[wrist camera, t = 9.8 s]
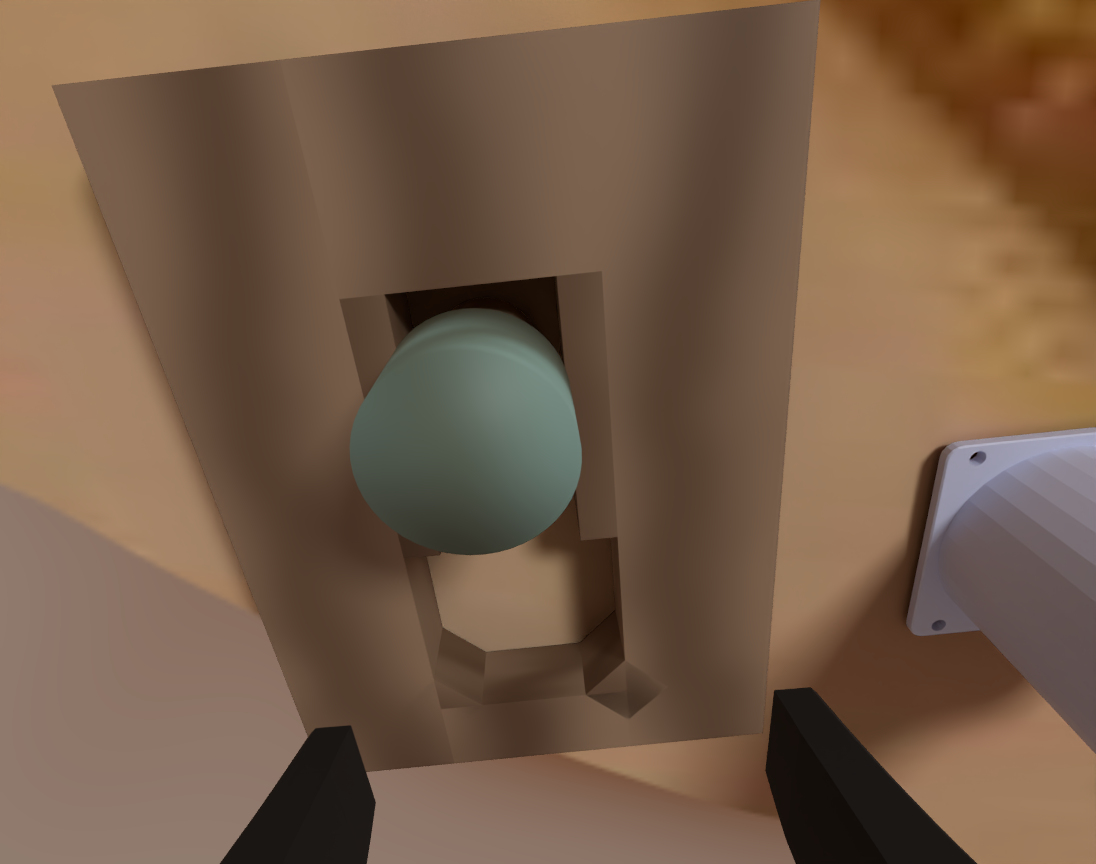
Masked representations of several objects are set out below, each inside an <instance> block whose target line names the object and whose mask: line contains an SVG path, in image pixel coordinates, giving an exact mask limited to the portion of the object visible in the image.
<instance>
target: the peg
mask: <svg viewBox="0 0 1096 864" xmlns="http://www.w3.org/2000/svg"><path fill="white" fill-rule="evenodd" d="M350 462H351V466H352V471H353V475H354V478H355V481H356V483H357V486H358V488H359V490H360V492H361V494H362V496H363V498H364V499H365V501H366V502H367V504H368V505H369V506H370V508H371V509H372V510H373V512H374V513H375V514H376V515H377V516H378V517H379V518H380V519H381V520H382V521H383V522H384V523H385V524H386V525H388V526H389V527H390V528H391V529H392V530H394V531H395V532H397V533H398V534H400V535H401V536H403V537H405V538H407V539H408V540H410V541H412V542H414V543H416V544H419V545H421V546H424V547H427V548H429V549H433V550H437V551H440V552H445V553H451V554H460V555H481V554H489V553H495V552H500V551H504V550H507V549H511V548H513V547H516V546H518V545H521V544H523V543H525V542H527V541H529V540H531V539H533V538H534V537H536V536H538V535H539V534H540V533H542V532H543V531H545V530H546V529H547V528H548V527H549V526H550V525H551V524H553V523H554V522H555V521H556V520H557V519H558V517H559V516H560V515H561V514H562V513H563V511H564V510H565V509H566V507H567V505H568V504H569V502H570V500H571V499H572V497H573V494H574V492H575V490H576V488H577V484H578V481H579V477H580V472H581V464H582V448H581V442H580V436H579V431H578V425H577V420H576V414H575V409H574V404H573V398H572V393H571V387H570V382H569V378H568V374H567V371H566V368H565V366H564V364H563V362H562V360H561V357H560V356H559V354H558V353H557V351H556V350H555V348H554V347H553V346H552V344H551V343H550V342H549V341H548V340H547V339H546V338H545V337H544V336H543V335H542V334H541V333H540V332H539V331H538V330H536V329H535V328H534V327H533V325H532V324H531V322H530V321H529V319H528V318H527V317H526V315H525V314H524V313H523V312H522V311H520V310H519V309H518V308H517V307H515V306H514V305H512V304H510V303H508V302H506V301H503V300H500V299H496V298H487V297H485V298H476V299H471V300H468V301H465V302H463V303H461V304H459V305H458V306H456V307H455V308H454V309H452V310H451V311H448V312H445V313H442V314H439V315H436V316H434V317H432V318H430V319H428V320H426V321H424V322H423V323H421V324H420V325H418V326H417V327H415V328H414V329H413V330H412V331H411V332H410V333H408V334H407V335H406V336H405V338H404V339H403V340H402V341H401V342H400V343H399V345H398V346H397V348H396V349H395V351H394V353H393V354H392V356H391V358H390V359H389V361H388V362H387V364H386V366H385V367H384V369H383V370H382V372H381V374H380V375H379V377H378V379H377V380H376V382H375V383H374V385H373V387H372V388H371V390H370V391H369V393H368V395H367V396H366V398H365V400H364V401H363V403H362V404H361V406H360V408H359V410H358V413H357V415H356V417H355V420H354V423H353V427H352V431H351V437H350Z"/></svg>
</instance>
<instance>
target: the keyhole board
mask: <svg viewBox="0 0 1096 864" xmlns="http://www.w3.org/2000/svg"><path fill="white" fill-rule="evenodd" d="M819 10H820V0H813V1H804V2H795V3H786V4H777V5H768V6H759V7H750V8H741V9H732V10H723V11H714V12H705V13H696V14H687V15H678V16H669V17H660V18H652V19H643V20H634V21H625V22H616V23H607V24H598V25H589V26H580V27H571V28H562V29H553V30H544V31H535V32H526V33H517V34H508V35H499V36H490V37H481V38H472V39H464V40H455V41H446V42H437V43H428V44H419V45H410V46H401V47H392V48H383V49H374V50H365V51H356V52H347V53H338V54H329V55H320V56H311V57H302V58H293V59H285V60H276V61H267V62H258V63H249V64H240V65H231V66H222V67H213V68H204V69H195V70H186V71H177V72H168V73H159V74H150V75H141V76H132V77H123V78H114V79H105V80H97V81H88V82H79V83H70V84H61V85H52V88H53V90H54V93H55V95H56V98H57V100H58V103H59V106H60V108H61V111H62V113H63V116H64V118H65V121H66V123H67V126H68V128H69V131H70V133H71V136H72V139H73V141H74V144H75V146H76V149H77V151H78V154H79V156H80V159H81V161H82V164H83V167H84V169H85V172H86V174H87V177H88V179H89V182H90V184H91V187H92V189H93V192H94V194H95V197H96V200H97V202H98V205H99V207H100V210H101V212H102V215H103V217H104V220H105V222H106V225H107V227H108V230H109V233H110V235H111V238H112V240H113V243H114V245H115V248H116V250H117V253H118V255H119V258H120V260H121V263H122V266H123V268H124V271H125V273H126V276H127V278H128V281H129V283H130V286H131V288H132V291H133V293H134V296H135V299H136V301H137V304H138V306H139V309H140V311H141V314H142V316H143V319H144V321H145V324H146V326H147V329H148V332H149V334H150V337H151V339H152V342H153V344H154V347H155V349H156V352H157V354H158V357H159V359H160V362H161V365H162V367H163V370H164V372H165V375H166V377H167V380H168V382H169V385H170V387H171V390H172V392H173V395H174V398H175V400H176V403H177V405H178V408H179V410H180V413H181V415H182V418H183V420H184V423H185V425H186V428H187V431H188V433H189V436H190V438H191V441H192V443H193V446H194V448H195V451H196V453H197V456H198V458H199V461H200V464H201V466H202V469H203V471H204V474H205V476H206V479H207V481H208V484H209V486H210V489H211V491H212V494H213V497H214V499H215V502H216V504H217V507H218V509H219V512H220V514H221V517H222V519H223V522H224V525H225V527H226V530H227V532H228V535H229V537H230V540H231V542H232V545H233V547H234V550H235V552H236V555H237V558H238V560H239V563H240V565H241V568H242V570H243V573H244V575H245V578H246V580H247V583H248V585H249V588H250V591H251V593H252V596H253V598H254V601H255V603H256V606H257V608H258V611H259V613H260V616H261V618H262V621H263V623H264V626H265V629H266V631H267V634H268V636H269V639H270V641H271V644H272V646H273V649H274V651H275V654H276V657H277V659H278V662H279V664H280V667H281V669H282V672H283V674H284V677H285V679H286V682H287V684H288V687H289V689H290V692H291V694H292V697H293V700H294V702H295V705H296V707H297V710H298V712H299V715H300V717H301V720H302V723H303V725H304V728H305V730H306V733H307V735H308V737H309V735H310V734H311V732H312V731H313V730H314V729H315V728H323V727H335V726H347V725H351V727H352V730H353V733H354V736H355V739H356V742H357V745H358V749H359V752H360V755H361V758H362V761H363V764H364V767H365V770H366V772H370V771H380V770H391V769H401V768H411V767H421V766H431V765H442V764H452V763H462V762H472V761H483V760H493V759H503V758H513V757H524V756H534V755H544V754H554V753H565V752H575V751H585V750H595V749H606V748H616V747H626V746H636V745H647V744H657V743H667V742H677V741H687V740H698V739H708V738H718V737H728V736H739V735H749V734H759V733H763V722H764V710H765V697H766V684H767V671H768V659H769V646H770V633H771V621H772V608H773V595H774V582H775V570H776V557H777V544H778V531H779V519H780V506H781V493H782V481H783V468H784V455H785V442H786V430H787V417H788V404H789V392H790V379H791V366H792V353H793V341H794V328H795V315H796V302H797V290H798V277H799V264H800V252H801V239H802V226H803V213H804V201H805V188H806V175H807V162H808V150H809V137H810V124H811V112H812V99H813V86H814V73H815V61H816V48H817V35H818V22H819ZM551 276H554V280H555V291H556V302H557V312H558V323H559V334H560V344H561V355H562V362H563V364H564V366H565V368H566V371H567V374H568V378H569V382H570V387H571V393H572V398H573V404H574V409H575V414H576V420H577V425H578V431H579V436H580V442H581V448H582V464H581V472H580V477H579V481H578V484H577V488H576V490H575V492H574V495H575V503H576V510H577V517H578V524H579V531H580V539H581V541H582V540H592V539H602V538H611V551H612V567H613V582H614V597H615V611H614V612H613V613H612V614H611V615H610V616H609V617H608V618H606V619H605V620H604V621H603V622H602V623H601V624H600V625H599V626H598V627H597V628H596V629H594V630H593V631H592V632H591V633H590V634H589V635H588V636H587V637H586V638H585V639H584V640H583V641H581V642H580V643H574V644H564V645H554V646H544V647H534V648H524V649H514V650H504V651H494V652H485V651H483V650H481V649H479V648H478V647H476V646H474V645H472V644H471V643H469V642H467V641H465V640H464V639H462V638H460V637H458V636H456V635H455V634H453V633H451V632H449V631H448V630H446V629H444V628H442V623H441V619H440V614H439V610H438V606H437V601H436V597H435V593H434V588H433V584H432V579H431V575H430V571H429V566H428V562H427V557H426V556H435V555H440V554H441V552H440V551H437V550H433V549H429V548H427V547H424V546H421V545H419V544H416V543H414V542H412V541H410V540H408V539H407V538H405V537H403V536H401V535H400V534H398V533H397V532H395V531H394V530H392V529H391V528H390V527H389V526H388V525H386V524H385V523H384V522H383V521H382V520H381V519H380V518H379V517H378V516H377V515H376V514H375V513H374V512H373V510H372V509H371V508H370V506H369V505H368V504H367V502H366V501H365V499H364V498H363V496H362V494H361V492H360V490H359V488H358V486H357V483H356V481H355V478H354V475H353V471H352V466H351V462H350V437H351V431H352V427H353V423H354V420H355V417H356V415H357V413H358V410H359V408H360V406H361V404H362V403H363V401H364V400H365V398H366V396H367V395H368V393H369V391H370V390H371V388H372V387H373V385H374V383H375V382H376V380H377V379H378V377H379V375H380V374H381V372H382V370H383V369H384V367H385V366H386V364H387V362H388V361H389V359H390V358H391V356H392V354H393V353H394V351H395V349H396V348H397V346H398V345H399V343H400V342H401V341H402V340H403V339H404V338H405V336H406V335H407V334H408V333H410V332H411V331H412V330H413V326H412V321H411V316H410V311H409V306H408V301H407V296H406V292H411V291H420V290H430V289H439V288H448V287H458V286H467V285H476V284H486V283H495V282H505V281H514V280H523V279H533V278H542V277H551Z"/></svg>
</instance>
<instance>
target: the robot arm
mask: <svg viewBox="0 0 1096 864" xmlns="http://www.w3.org/2000/svg"><path fill="white" fill-rule="evenodd" d="M975 452H978V453H977V455H976V456H975V457H974V458H973V459H970V458H971V456H972V455H973V454H974V453H975ZM969 459H970V460H969ZM935 621H936V622H935ZM906 625H907V627H908V628H909V629H910V630H911V632H912V633H913V634H914V635H917V636H928V635H938V634H948V633H958V632H968V631H978V630H981V631H982V633H983V634H984V635H985V636H986V637H987V638H988V639H989V640H990V641H991V642H992V643H993V644H994V645H995V647H996V648H997V649H998V650H999V651H1000V652H1001V653H1002V654H1003V655H1004V656H1005V657H1006V658H1007V659H1008V660H1009V662H1010V663H1011V664H1012V665H1013V666H1014V667H1015V668H1016V669H1017V670H1018V671H1019V672H1020V673H1021V674H1022V675H1023V677H1024V678H1025V679H1026V680H1027V681H1028V682H1029V683H1030V684H1031V685H1032V686H1033V687H1034V688H1035V689H1036V690H1037V692H1038V693H1039V694H1040V695H1041V696H1042V697H1043V698H1044V699H1045V700H1046V701H1047V702H1048V703H1049V704H1050V705H1051V707H1052V708H1053V709H1054V710H1055V711H1056V712H1057V713H1058V714H1059V715H1060V716H1061V717H1062V718H1063V719H1064V721H1065V722H1066V723H1067V724H1068V725H1069V726H1070V727H1071V728H1072V729H1073V730H1074V731H1075V732H1076V733H1077V734H1078V736H1079V737H1080V738H1081V739H1082V740H1083V741H1084V742H1085V743H1086V744H1087V745H1088V746H1089V747H1090V748H1091V749H1092V751H1093V752H1094V753H1095V754H1096V427H1093V428H1084V429H1074V430H1064V431H1054V432H1045V433H1035V434H1025V435H1016V436H1006V437H996V438H986V439H977V440H967V441H958V442H954V443H951V444H950V445H948V446H946V448H945V449H944V450H943V451H942V453H941V455H940V458H939V463H938V468H937V473H936V478H935V483H934V488H933V493H932V498H931V502H930V507H929V512H928V517H927V522H926V527H925V532H924V537H923V542H922V547H921V551H920V556H919V561H918V566H917V571H916V576H915V581H914V586H913V591H912V596H911V601H910V605H909V610H908V615H907V620H906ZM766 774H767V778H768V781H769V784H770V788H771V791H772V795H773V798H774V802H775V805H776V809H777V812H778V815H779V818H780V821H781V825H782V828H783V831H784V834H785V837H786V840H787V843H788V845H789V848H790V850H791V853H792V855H793V858H794V860H795V863H796V864H977V863H976V862H975V861H974V860H973V859H972V858H971V857H970V856H969V855H968V854H967V853H966V852H965V851H964V850H963V849H961V848H960V847H959V846H958V845H957V844H956V843H955V842H954V841H953V840H952V839H951V838H950V837H949V836H948V835H947V834H946V833H945V832H944V831H943V830H942V829H941V828H940V827H939V826H938V825H937V824H936V823H935V822H934V821H933V820H932V818H931V817H930V816H929V815H928V814H927V813H926V812H925V811H924V810H923V809H922V808H921V807H920V806H919V805H918V804H917V803H916V802H915V801H914V800H913V799H912V798H911V797H910V796H909V795H908V794H907V793H906V792H905V790H904V789H903V788H902V787H901V786H900V785H899V784H898V783H897V782H896V781H895V780H894V779H893V778H892V777H891V776H890V775H889V774H888V772H887V771H886V770H885V769H884V768H883V767H882V766H881V765H880V764H879V763H878V762H877V761H876V759H875V758H874V757H873V756H872V755H871V754H870V753H869V752H868V751H867V750H866V748H865V747H864V746H863V745H862V744H861V743H860V742H859V741H858V740H857V738H856V737H855V736H854V735H853V734H852V733H851V732H850V731H849V729H848V728H847V727H846V726H845V725H844V724H843V723H842V721H841V720H840V719H839V718H838V717H837V716H836V715H835V713H834V712H833V711H832V710H831V709H830V708H829V706H828V705H827V704H826V703H825V702H824V701H823V700H822V698H821V697H820V696H819V695H818V694H817V693H816V692H815V691H814V690H813V689H812V688H811V687H809V688H797V689H785V690H774V697H773V706H772V716H771V725H770V734H769V743H768V752H767V762H766ZM375 803H376V802H375V799H374V796H373V792H372V790H371V786H370V783H369V780H368V777H367V774H366V770H365V767H364V764H363V761H362V758H361V755H360V752H359V749H358V745H357V742H356V739H355V736H354V733H353V730H352V727H351V725H347V726H335V727H323V728H315V729H314V730H313V731H312V732H311V734H310V735H309V737H308V738H307V740H306V741H305V743H304V744H303V746H302V747H301V749H300V750H299V751H298V753H297V754H296V756H295V757H294V759H293V760H292V762H291V763H290V765H289V766H288V768H287V769H286V771H285V772H284V774H283V775H282V777H281V778H280V780H279V781H278V783H277V784H276V785H275V787H274V788H273V790H272V792H271V793H270V794H269V796H268V797H267V799H266V800H265V802H264V803H263V804H262V806H261V807H260V809H259V810H258V811H257V813H256V814H255V816H254V817H253V819H252V820H251V821H250V823H249V824H248V826H247V827H246V828H245V830H244V831H243V832H242V834H241V835H240V837H239V838H238V839H237V841H236V842H235V844H234V845H233V846H232V848H231V849H230V850H229V852H228V853H227V855H226V856H225V857H224V859H223V860H222V861H221V863H220V864H367V858H368V852H369V845H370V838H371V831H372V825H373V817H374V810H375Z"/></svg>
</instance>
